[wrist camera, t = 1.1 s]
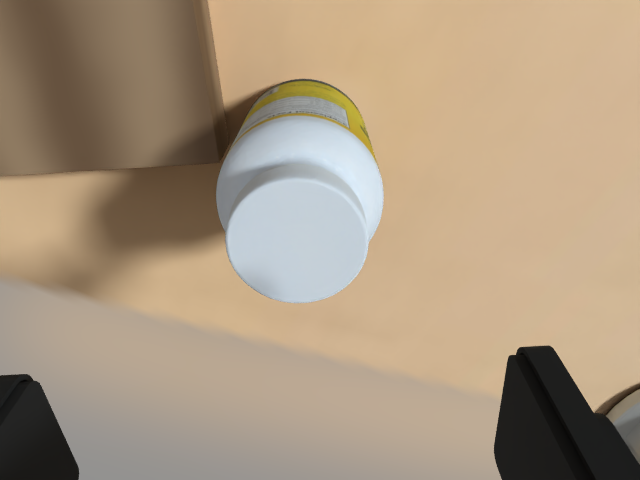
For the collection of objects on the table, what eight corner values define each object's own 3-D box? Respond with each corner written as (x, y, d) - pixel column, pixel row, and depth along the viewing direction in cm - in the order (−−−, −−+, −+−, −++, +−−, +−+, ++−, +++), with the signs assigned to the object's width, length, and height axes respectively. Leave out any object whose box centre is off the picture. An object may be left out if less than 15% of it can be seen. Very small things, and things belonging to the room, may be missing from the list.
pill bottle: (327, 214, 28) (332, 352, 18) (223, 160, 27) (165, 279, 17) (389, 115, 26) (437, 212, 16) (278, 49, 24) (250, 110, 14)
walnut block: (185, -138, 21) (166, -154, 18) (229, 143, 26) (219, 162, 24) (-98, -117, 21) (-158, -129, 18) (6, 156, 27) (-28, 177, 24)
